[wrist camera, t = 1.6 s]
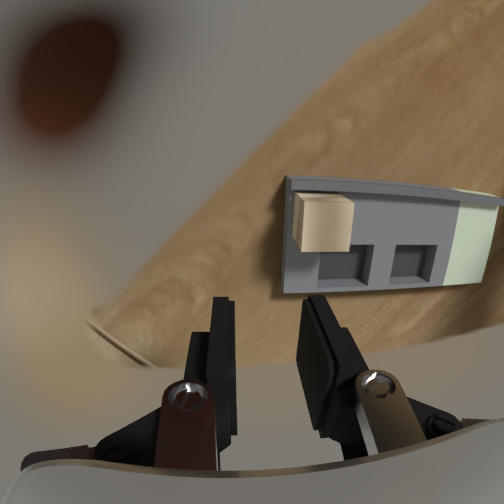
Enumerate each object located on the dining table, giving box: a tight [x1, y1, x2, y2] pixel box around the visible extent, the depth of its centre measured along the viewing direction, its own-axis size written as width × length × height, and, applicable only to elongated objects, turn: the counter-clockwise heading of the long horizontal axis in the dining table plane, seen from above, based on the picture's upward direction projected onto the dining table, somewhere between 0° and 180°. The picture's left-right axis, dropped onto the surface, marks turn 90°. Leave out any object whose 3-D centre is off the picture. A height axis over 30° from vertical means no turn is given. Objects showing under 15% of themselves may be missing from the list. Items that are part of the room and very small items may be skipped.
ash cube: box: [292, 192, 354, 252], centre depth 26 cm, size 4×4×4 cm
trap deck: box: [281, 175, 504, 293], centre depth 30 cm, size 26×11×3 cm, turn 89°
